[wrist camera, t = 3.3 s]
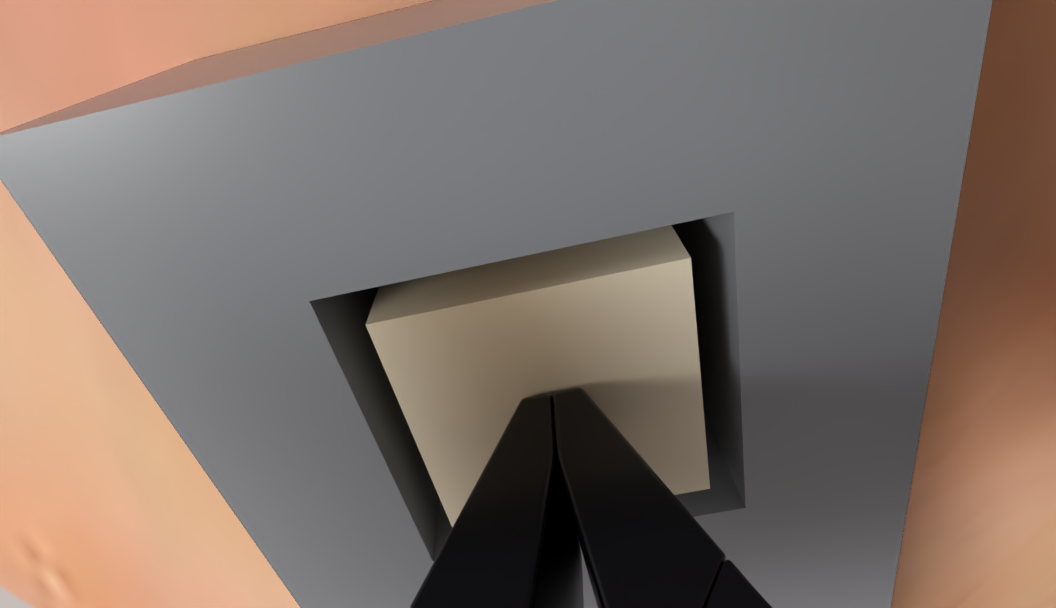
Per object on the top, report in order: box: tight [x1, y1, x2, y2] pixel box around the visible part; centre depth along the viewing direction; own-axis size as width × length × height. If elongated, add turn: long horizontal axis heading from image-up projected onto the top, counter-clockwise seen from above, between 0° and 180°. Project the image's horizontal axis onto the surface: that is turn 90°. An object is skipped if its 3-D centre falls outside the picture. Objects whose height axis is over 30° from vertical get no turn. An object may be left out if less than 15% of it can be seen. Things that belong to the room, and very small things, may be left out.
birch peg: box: [366, 225, 710, 527], centre depth 10 cm, size 4×4×5 cm
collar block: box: [0, 0, 993, 608], centre depth 13 cm, size 10×22×5 cm, turn 12°
